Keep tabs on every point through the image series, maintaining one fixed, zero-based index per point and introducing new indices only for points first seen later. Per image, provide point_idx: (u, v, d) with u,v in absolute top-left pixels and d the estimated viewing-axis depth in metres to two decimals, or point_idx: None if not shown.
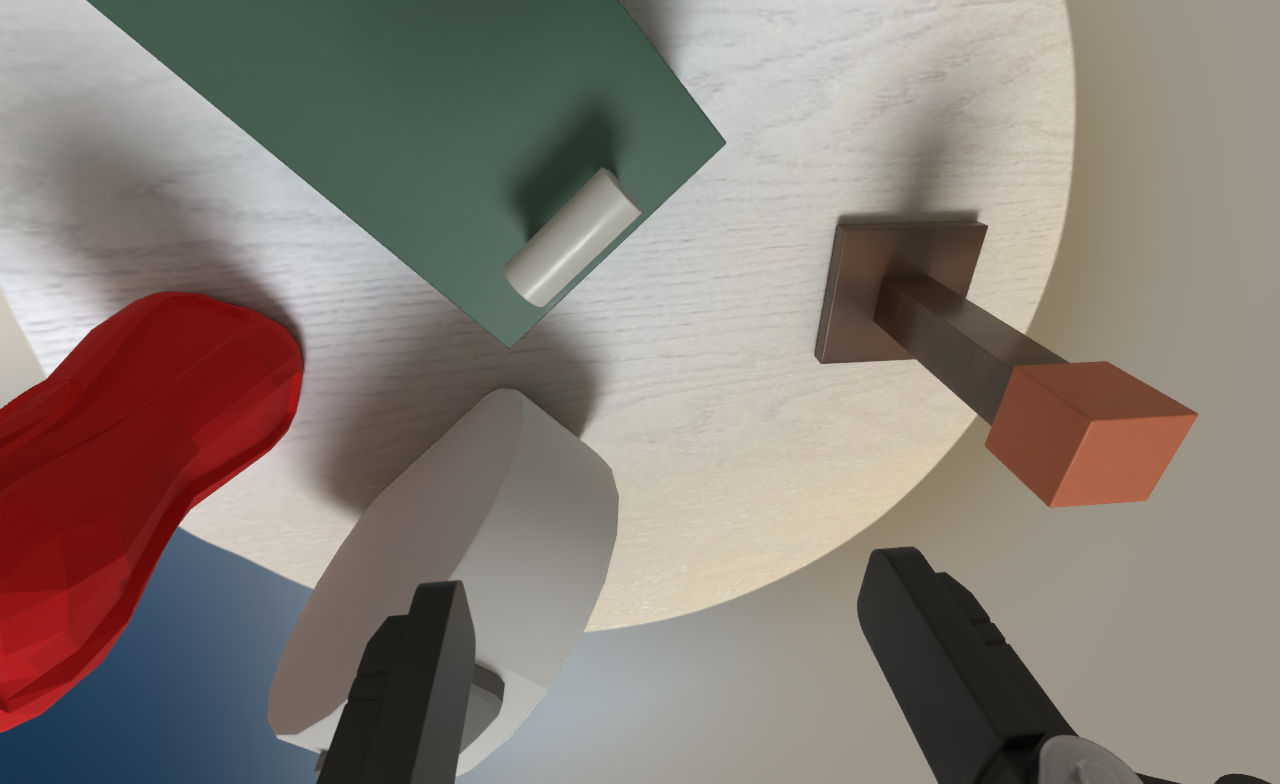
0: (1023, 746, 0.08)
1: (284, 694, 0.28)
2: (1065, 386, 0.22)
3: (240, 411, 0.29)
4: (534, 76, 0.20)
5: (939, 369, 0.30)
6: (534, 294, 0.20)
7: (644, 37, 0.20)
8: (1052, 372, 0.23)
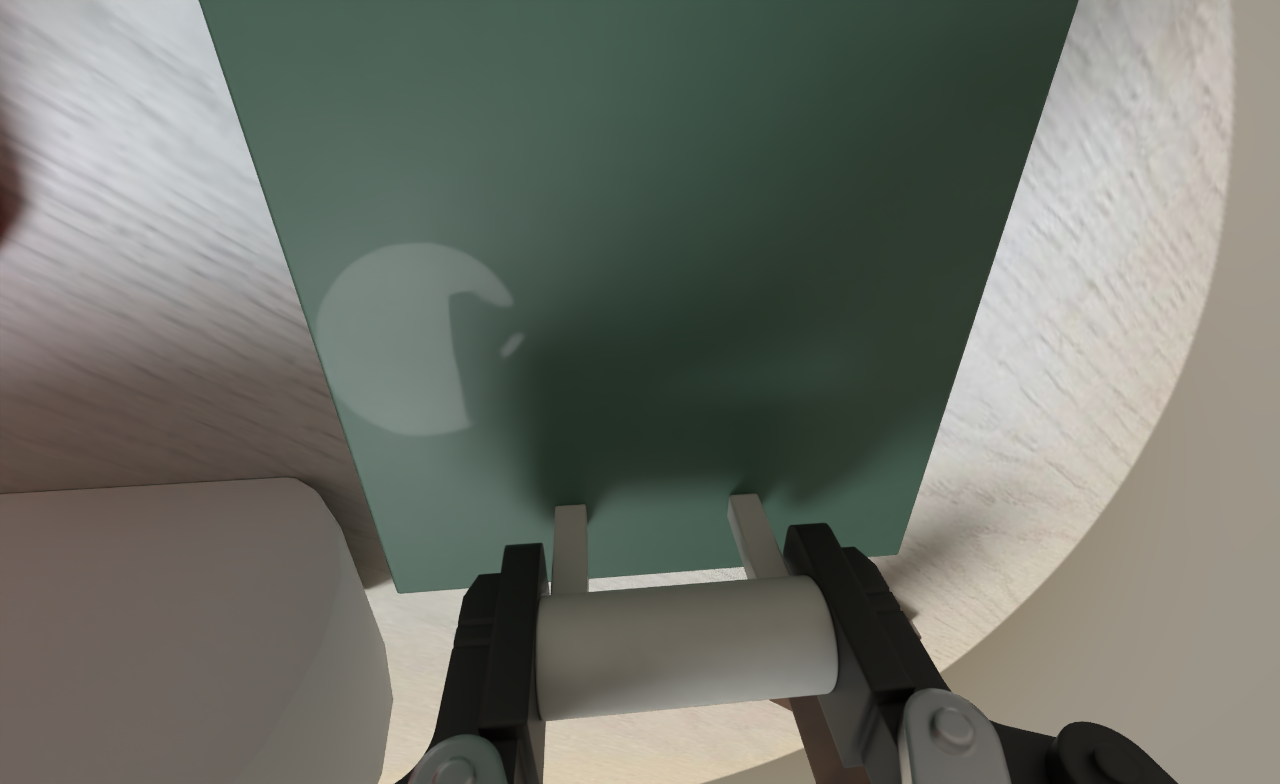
0: (896, 700, 0.08)
1: None
2: None
3: None
4: (788, 333, 0.11)
5: None
6: (561, 716, 0.09)
7: (946, 400, 0.12)
8: None
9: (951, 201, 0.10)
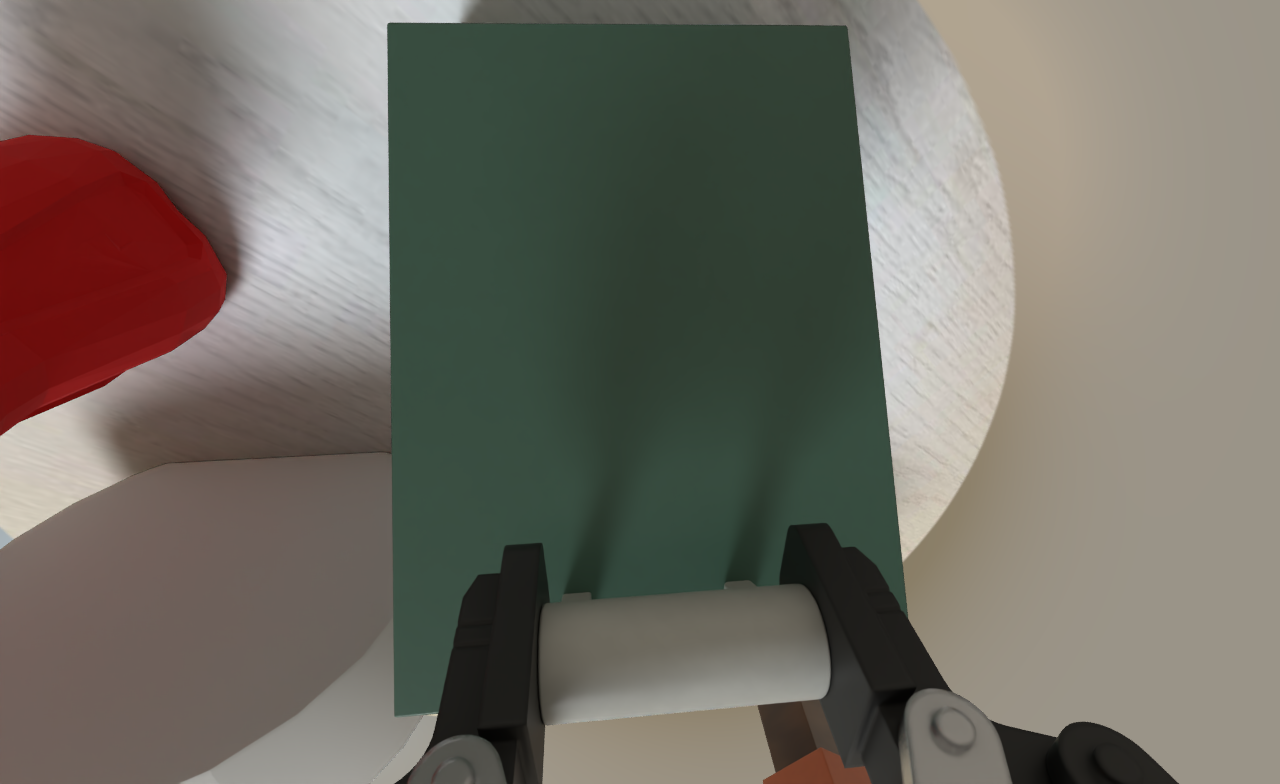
0: (897, 700, 0.08)
1: None
2: None
3: (121, 367, 0.22)
4: (745, 418, 0.15)
5: None
6: (561, 698, 0.09)
7: (892, 479, 0.15)
8: (838, 767, 0.29)
9: (835, 323, 0.15)
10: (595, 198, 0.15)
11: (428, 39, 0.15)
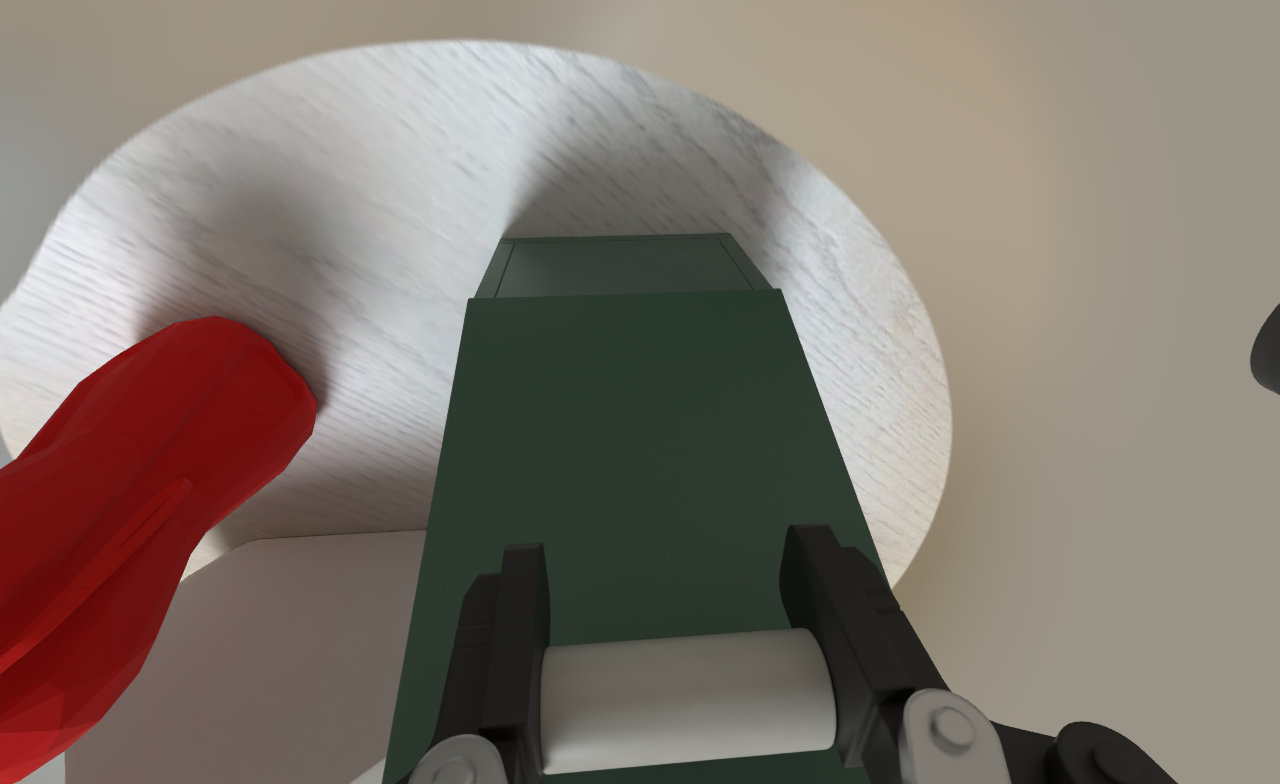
0: (896, 700, 0.08)
1: (99, 765, 0.28)
2: None
3: (252, 494, 0.29)
4: (741, 545, 0.16)
5: None
6: (560, 712, 0.09)
7: None
8: None
9: (808, 466, 0.18)
10: (606, 388, 0.20)
11: (494, 305, 0.22)
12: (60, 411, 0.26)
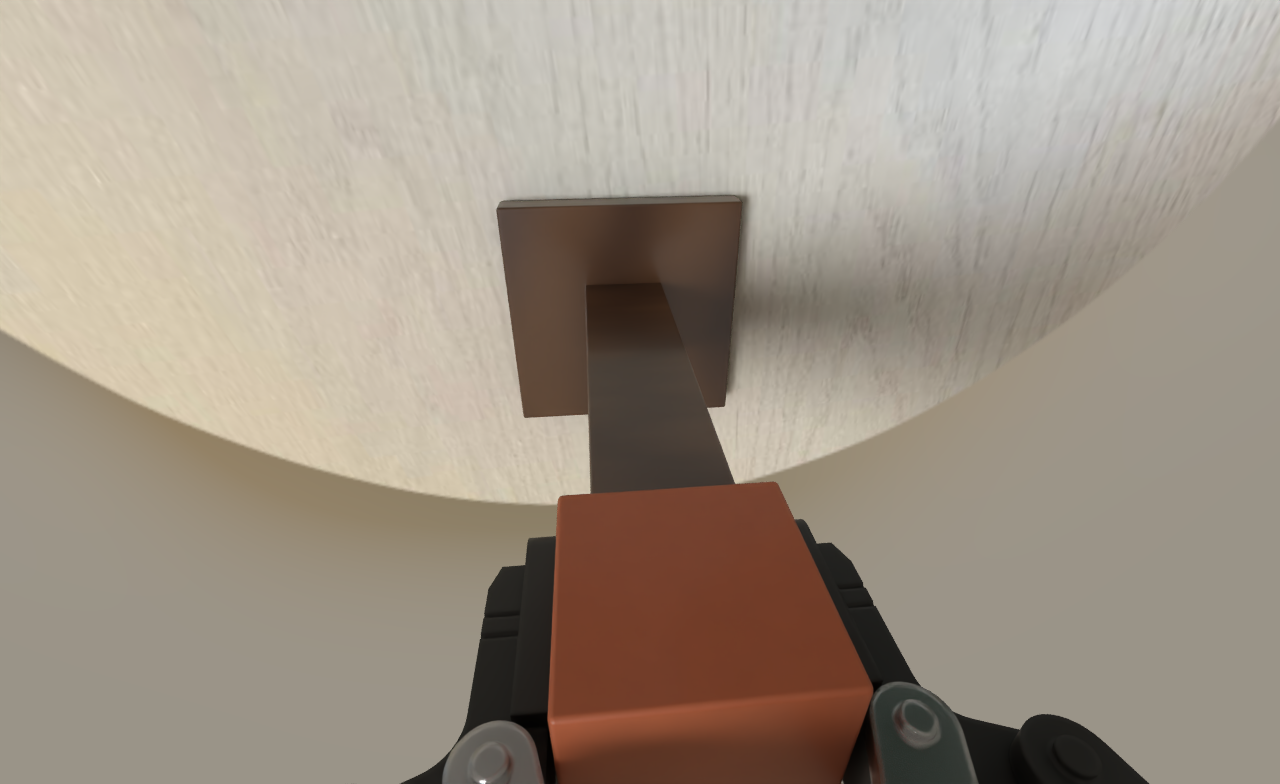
0: None
1: None
2: None
3: None
4: None
5: (607, 381, 0.15)
6: None
7: None
8: None
9: None
10: None
11: None
12: None
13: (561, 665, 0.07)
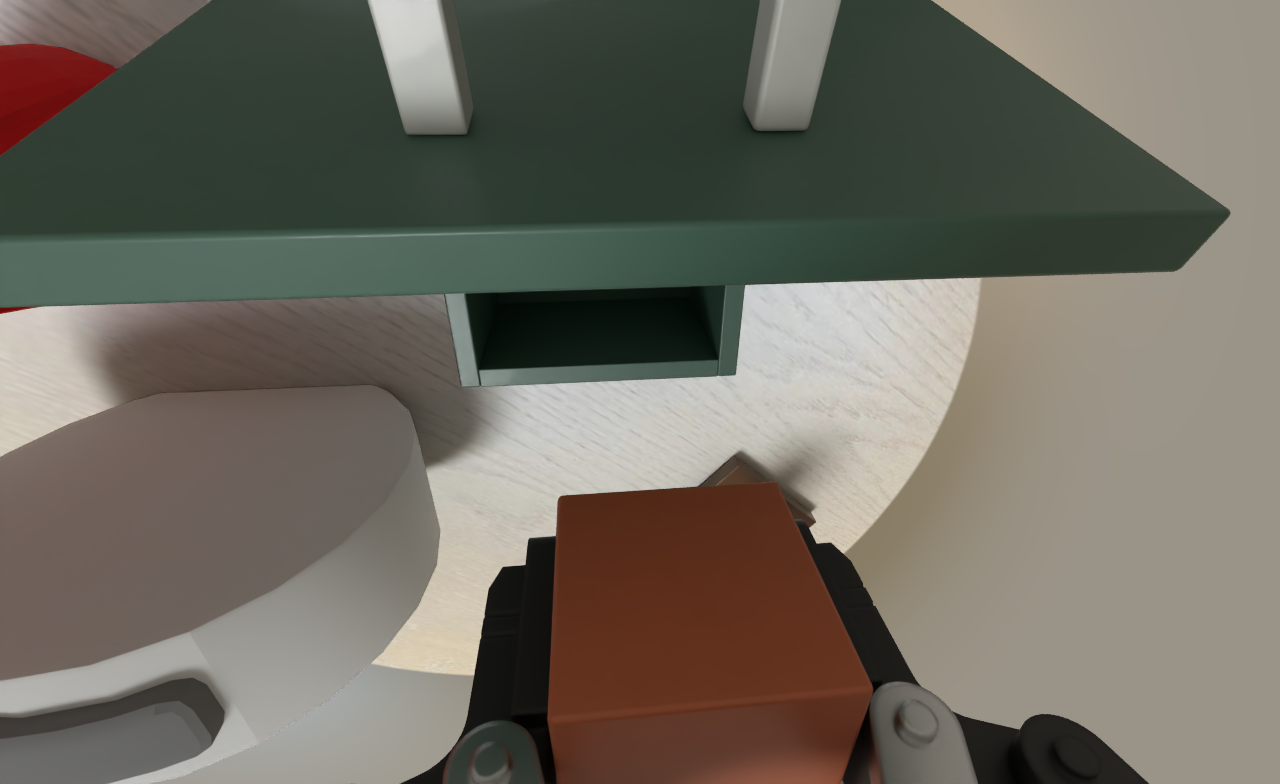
0: None
1: None
2: None
3: None
4: (743, 10, 0.10)
5: None
6: None
7: None
8: None
9: None
10: None
11: None
12: None
13: (561, 665, 0.07)
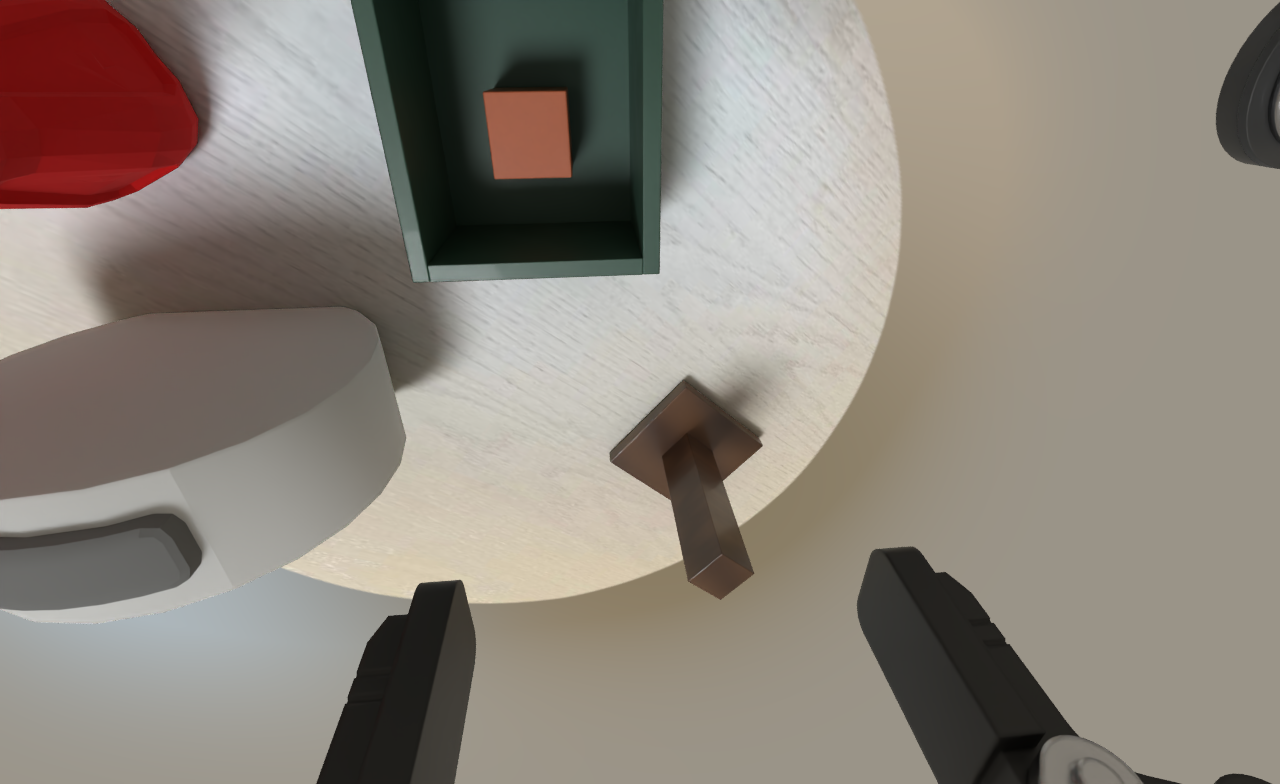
0: (1023, 746, 0.08)
1: None
2: (568, 105, 0.31)
3: (103, 164, 0.26)
4: None
5: (680, 517, 0.39)
6: None
7: None
8: None
9: None
10: None
11: None
12: None
13: (487, 91, 0.29)
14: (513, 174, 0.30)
